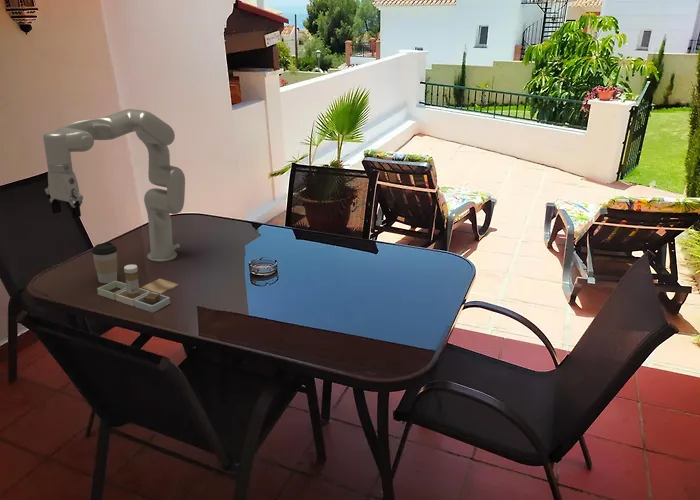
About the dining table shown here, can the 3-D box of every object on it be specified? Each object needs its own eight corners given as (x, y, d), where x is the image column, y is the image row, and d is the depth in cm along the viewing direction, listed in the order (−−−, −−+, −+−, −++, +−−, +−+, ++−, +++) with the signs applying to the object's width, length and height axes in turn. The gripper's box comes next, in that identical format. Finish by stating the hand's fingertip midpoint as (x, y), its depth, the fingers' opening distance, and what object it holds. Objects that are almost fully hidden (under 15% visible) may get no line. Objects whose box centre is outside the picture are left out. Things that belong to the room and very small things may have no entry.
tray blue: (152, 298, 197) (152, 291, 196) (170, 303, 194) (169, 297, 193) (135, 306, 190) (134, 300, 189) (152, 312, 186) (152, 306, 185)
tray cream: (134, 292, 201) (133, 286, 200) (150, 297, 197) (150, 291, 196) (116, 300, 193) (115, 294, 192) (133, 306, 190) (132, 299, 189)
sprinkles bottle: (140, 295, 198) (137, 263, 193) (140, 301, 194) (137, 268, 189) (127, 297, 196) (124, 264, 192) (127, 302, 193) (123, 269, 188)
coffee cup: (110, 285, 204) (107, 250, 199) (90, 282, 206) (86, 247, 201) (124, 276, 213) (121, 242, 207) (104, 273, 214) (101, 239, 209)
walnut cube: (150, 302, 194) (149, 292, 192) (160, 304, 193) (159, 294, 192) (144, 307, 190) (144, 297, 189) (154, 308, 190) (154, 298, 188)
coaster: (159, 279, 212) (159, 278, 212) (178, 285, 209) (178, 284, 208) (141, 288, 204) (141, 287, 204) (160, 294, 200) (160, 293, 200)
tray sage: (116, 286, 204) (115, 280, 203) (132, 291, 201) (131, 285, 200) (98, 294, 197) (97, 288, 196) (114, 300, 194) (113, 293, 193)
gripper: (87, 169, 180) (93, 216, 186) (52, 162, 186) (58, 208, 192) (68, 173, 173) (75, 222, 180) (32, 166, 179) (40, 213, 186)
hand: (66, 215), depth 186 cm, fingers open, 9 cm apart
